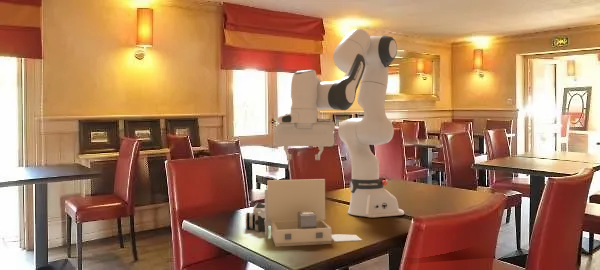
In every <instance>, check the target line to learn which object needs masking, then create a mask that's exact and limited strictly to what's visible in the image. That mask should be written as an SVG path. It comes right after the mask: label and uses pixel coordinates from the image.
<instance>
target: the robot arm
mask: <svg viewBox="0 0 600 270" xmlns="http://www.w3.org/2000/svg"><path fill="white" fill-rule="evenodd" d="M397 53H398V45H397V42H396V40H395V38H393V37H392V36H389V35H381V36H380V35H370V34H369V32H368V31H367V30H365V29H363V28H354V29H352V30H351V31H349V32H348V33H347V34H346V35H345V36H344V37H343V38H342V39H341V40H340V41H339V43H338V44H337V45H336V47H335V49H334V51H333V53H332V59H333V63H334V65H335V66H336V68H337V69H338V70H339V71H341V72H343V73H345V74H344V76H343V78H340V79H338V80H332V81H323V80H321V79H320V78H319V77H317V71H316V70H314V69H306V70H297V71H295V72H294V73H293V75H292V78H291V85H290V88H291V89H290V98H291V106H290V113H286V114H284V115H281V116H279V117H277V121H276V122H277V124H276V125H275V129H274V132H273V140H272V141H273V142H272V143H273V145H274V146H276V147H278V146H279V147H283V150H284V153H285V154H286V160H287V161H292V156H293V155H292V154H290V153H289V152H288V149H289V147H318V150H319V151H318V153H317V154H314V157H315V161H320V160H321V155H322V153H323V151H324V147H333V146H334V145H335V133H334V132H335V129H336V124H335V121H334V120H332V119H331V118H318V111H321V110H322V111H326V110H327V111H328V110H329V111H330V110H332V111H333V110H336V111H346V110H348V109H350V108H351V107H352V106H353V105H354V102H355V100H356V95H357V101H356V102H357V104H358V105H359V106H360V107H361V108H362V109H363V117H351V118H347V119H344V120H342V121H341V122H340V123H339V125H338V129H337V130H338V131H337V132H338V137H339V139H340V140H341V141H342V143H344V145H345V146H346V148H347V151H348V153H349V156H350V163H351V164H350V165H351V178H350V192H351V193H350V201H349V208H348V211H347V214H348V215H352V216H356V217H358V216H359V217H367V218H381V217H393V216H394V217H395V216H403V215H405V211H404V210H403V209H401V208H399V202H398V199H397V198H396V196H395V195H394V194H392V193H390V192H389V191H388V190H387V189H385V188H384V186H387V185H388V181H387V180H384V179H383V180H382V179H381V178H380V162H379V161H380V160H379V158H378V156H376V155H374V153H373V152H372V151H371V147H370V145H371V146H379V145H385V144H388V143H389V142H391V141H392V139H393V137H394V134H395V129H394V125H393V123H392V122H391V120H390V119H389V118H388V117H387V114H386V110H385V103H386V95H387V89H388V83H389V67H390V65H391V63H393V62H394V60H395V58H396V57H397ZM358 87H359V90H358V94H357V89H358Z"/></svg>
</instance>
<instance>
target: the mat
mask: <svg viewBox="0 0 600 270" xmlns="http://www.w3.org/2000/svg"><path fill="white" fill-rule="evenodd" d="M332 241H333V242H334V243H346V242H347V243H348V242H363V239H362V238H361V237H359V236H358V235H357V234H345V233H344V234H341V233H340V234H339V233H338V234H337V233H336V234H335V233H334V234H332Z"/></svg>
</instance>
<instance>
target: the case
mask: <svg viewBox="0 0 600 270" xmlns="http://www.w3.org/2000/svg"><path fill="white" fill-rule="evenodd" d="M266 181H267V186H266V187H267V189H264V203H265V220H264V225H265V233H264V236H265V238H267V237H269V227H270V237H271V238H272V239H271V240H272V242H273V245H274V246H275V247H277V248H278V247H293V246H315V245H316V246H317V245H332V243H333V239H332V235H333V233H332V232H333V231H332V229H333V228H332V227H331V226H330V225H329V224H327V222H326V221H325V220H326V179H325V178H314V179H313V178H311V179H310V178H308V179H306V178H305V179H280V180H279V179H277V180H275V179H273V180H272V179H270V180H266ZM310 210H311V211H313V212H314V213H315V214H316V228H308V229H298V212H300V211H310Z"/></svg>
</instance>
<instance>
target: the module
mask: <svg viewBox="0 0 600 270" xmlns="http://www.w3.org/2000/svg"><path fill="white" fill-rule="evenodd" d="M308 228H316V214H315V213H314V212H313V211H311V210H310V211H300V212H298V229H308Z"/></svg>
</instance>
